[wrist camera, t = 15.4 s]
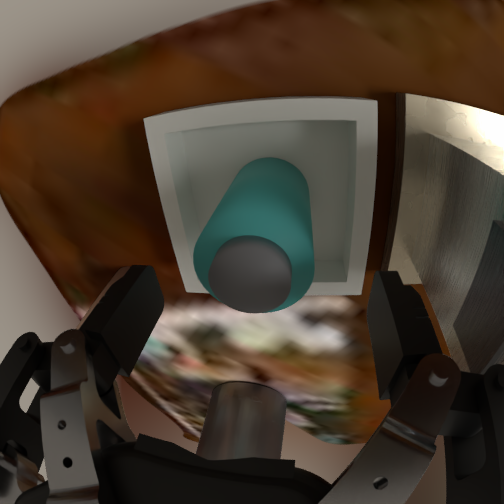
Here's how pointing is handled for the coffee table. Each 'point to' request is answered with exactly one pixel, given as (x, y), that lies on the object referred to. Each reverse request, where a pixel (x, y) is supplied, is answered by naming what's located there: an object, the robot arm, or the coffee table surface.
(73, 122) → the coffee table surface
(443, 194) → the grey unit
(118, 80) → the coffee table surface
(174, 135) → the tray
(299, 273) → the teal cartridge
